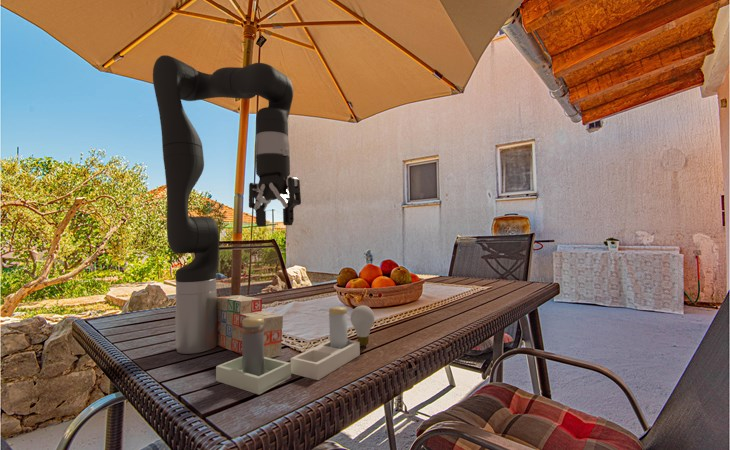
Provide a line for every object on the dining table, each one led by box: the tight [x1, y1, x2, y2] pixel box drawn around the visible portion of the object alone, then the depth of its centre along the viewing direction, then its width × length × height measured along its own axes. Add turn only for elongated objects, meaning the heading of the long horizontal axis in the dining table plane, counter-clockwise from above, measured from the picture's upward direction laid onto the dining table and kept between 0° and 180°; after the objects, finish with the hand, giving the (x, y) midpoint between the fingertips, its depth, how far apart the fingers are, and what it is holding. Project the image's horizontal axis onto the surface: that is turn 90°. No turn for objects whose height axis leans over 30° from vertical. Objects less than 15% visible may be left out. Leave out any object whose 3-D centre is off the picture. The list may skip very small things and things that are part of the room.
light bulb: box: [350, 305, 375, 348], centre depth 84 cm, size 6×6×10 cm
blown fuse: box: [241, 317, 264, 376], centre depth 66 cm, size 4×4×11 cm
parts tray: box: [215, 356, 292, 395], centre depth 66 cm, size 12×8×3 cm, turn 58°
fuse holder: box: [290, 339, 361, 381], centre depth 73 cm, size 7×15×3 cm, turn 149°
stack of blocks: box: [217, 294, 284, 359], centre depth 84 cm, size 21×6×12 cm, turn 49°
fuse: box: [328, 306, 349, 349], centre depth 77 cm, size 4×4×11 cm
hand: (274, 225), depth 78 cm, fingers open, 8 cm apart
